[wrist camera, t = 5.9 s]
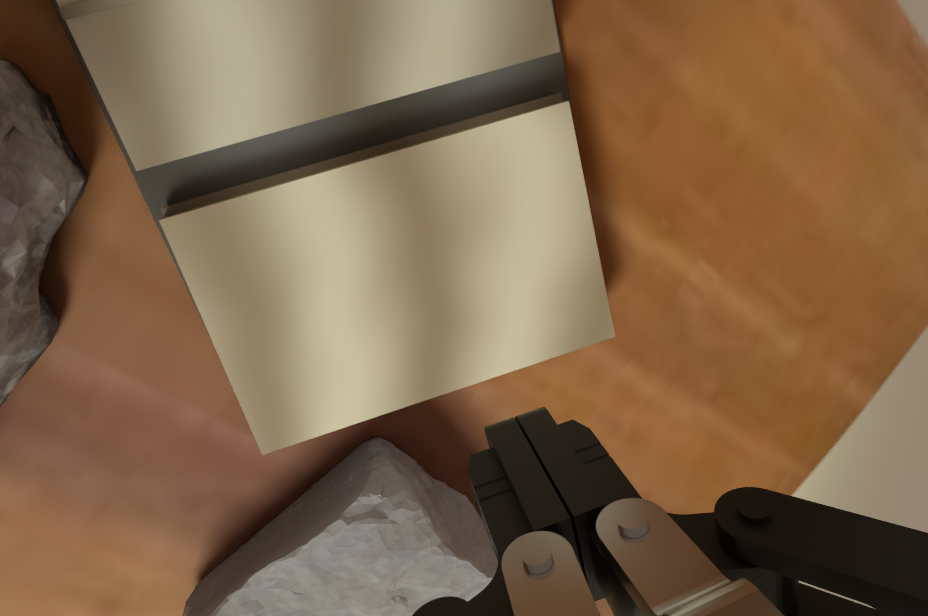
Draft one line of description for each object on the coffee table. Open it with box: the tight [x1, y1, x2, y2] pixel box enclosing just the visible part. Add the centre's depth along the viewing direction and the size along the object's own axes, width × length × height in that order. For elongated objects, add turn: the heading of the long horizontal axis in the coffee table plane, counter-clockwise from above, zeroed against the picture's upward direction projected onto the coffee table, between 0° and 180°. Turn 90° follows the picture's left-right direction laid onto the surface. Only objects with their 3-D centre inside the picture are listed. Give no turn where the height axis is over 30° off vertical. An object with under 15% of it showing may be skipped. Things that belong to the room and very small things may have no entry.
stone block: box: [183, 437, 498, 616], centre depth 27 cm, size 12×5×10 cm
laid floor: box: [51, 0, 577, 338], centre depth 21 cm, size 15×21×2 cm
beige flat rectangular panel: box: [159, 93, 615, 455], centre depth 22 cm, size 14×9×1 cm, turn 104°
